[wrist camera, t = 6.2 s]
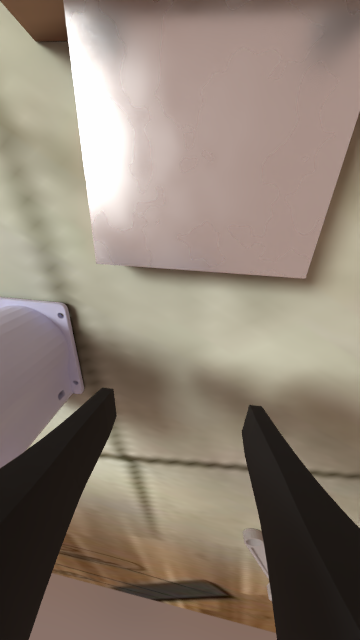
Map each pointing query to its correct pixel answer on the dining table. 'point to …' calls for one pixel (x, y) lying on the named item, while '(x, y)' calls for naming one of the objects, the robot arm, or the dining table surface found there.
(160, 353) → the dining table surface
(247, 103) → the plate
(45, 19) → the stop rail
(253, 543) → the adjustable wrench
